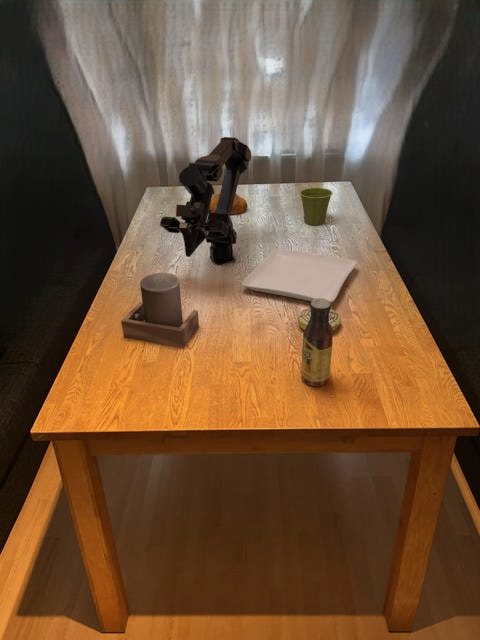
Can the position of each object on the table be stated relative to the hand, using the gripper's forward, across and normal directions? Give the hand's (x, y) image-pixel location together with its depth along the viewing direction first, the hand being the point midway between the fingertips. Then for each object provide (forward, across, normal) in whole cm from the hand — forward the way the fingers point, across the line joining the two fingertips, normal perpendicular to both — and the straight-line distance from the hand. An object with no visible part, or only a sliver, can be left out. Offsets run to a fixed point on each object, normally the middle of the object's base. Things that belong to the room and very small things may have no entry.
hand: (187, 256), depth 143 cm
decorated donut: (+13, +37, +8) cm, 40 cm away
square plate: (-2, +26, +24) cm, 35 cm away
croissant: (-37, -18, +57) cm, 71 cm away
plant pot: (-34, +17, +57) cm, 69 cm away
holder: (+22, +1, -5) cm, 23 cm away
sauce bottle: (+28, +42, -8) cm, 51 cm away
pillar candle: (+21, +1, -4) cm, 22 cm away
